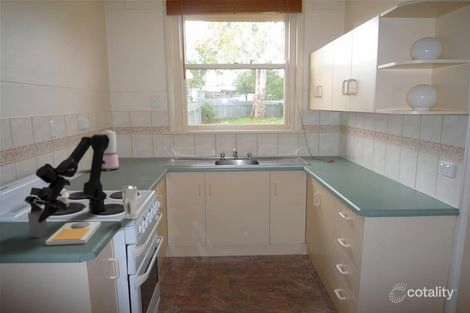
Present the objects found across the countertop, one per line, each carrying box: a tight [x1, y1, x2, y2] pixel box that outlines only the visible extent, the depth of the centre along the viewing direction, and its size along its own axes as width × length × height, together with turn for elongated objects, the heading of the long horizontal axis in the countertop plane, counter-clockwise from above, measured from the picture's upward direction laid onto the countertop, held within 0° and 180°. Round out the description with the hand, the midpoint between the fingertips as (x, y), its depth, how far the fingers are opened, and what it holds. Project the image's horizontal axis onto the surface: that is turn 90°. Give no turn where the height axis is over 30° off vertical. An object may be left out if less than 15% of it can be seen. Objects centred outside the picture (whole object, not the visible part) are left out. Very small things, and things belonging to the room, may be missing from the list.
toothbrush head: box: [59, 190, 71, 208], centre depth 185 cm, size 5×7×25 cm
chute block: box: [27, 210, 49, 239], centre depth 139 cm, size 4×5×10 cm
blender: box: [100, 129, 120, 172], centre depth 269 cm, size 16×12×32 cm
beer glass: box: [121, 185, 138, 221], centre depth 159 cm, size 7×7×15 cm
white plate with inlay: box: [45, 221, 102, 246], centre depth 140 cm, size 20×15×2 cm
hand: (34, 221), depth 137 cm, fingers closed on chute block, 5 cm apart
